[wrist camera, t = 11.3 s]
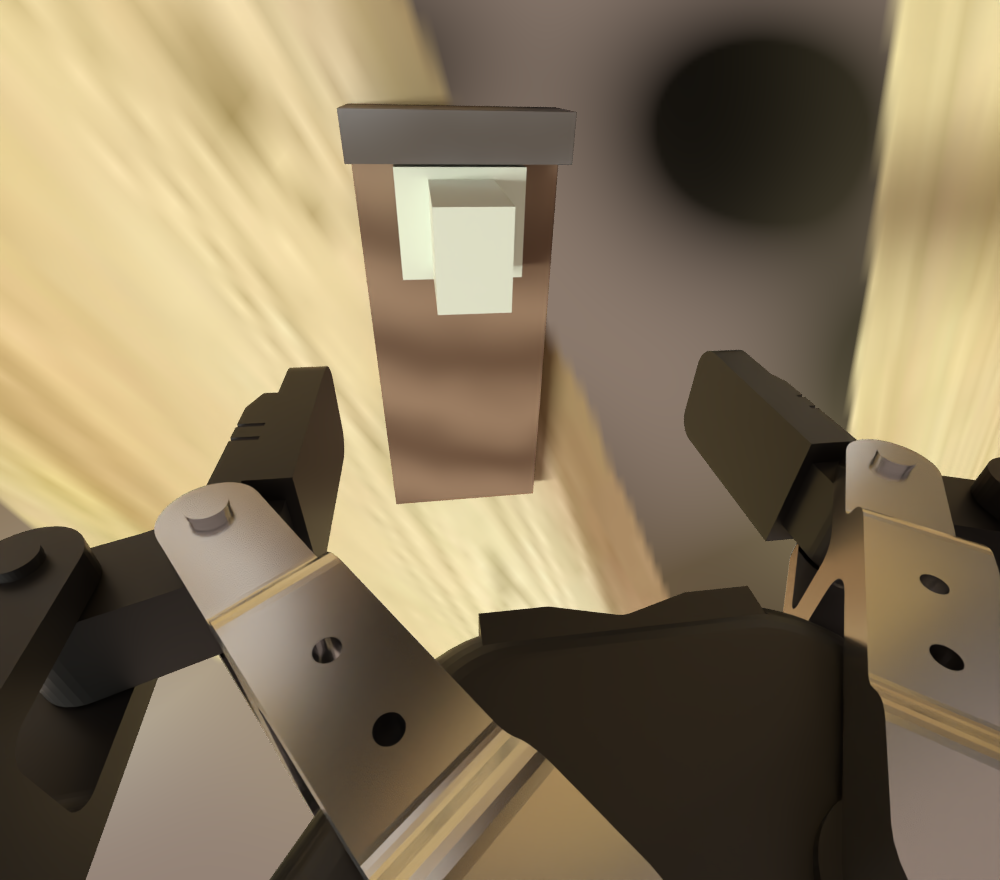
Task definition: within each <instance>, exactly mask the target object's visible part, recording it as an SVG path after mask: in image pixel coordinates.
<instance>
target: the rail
mask: <svg viewBox="0 0 1000 880" xmlns="http://www.w3.org/2000/svg"><path fill="white" fill-rule="evenodd" d="M337 113H338V120H339V127H340V134H341V141H342V149H343V156H344V163H345V164H352V171H353V179H354V186H355V194H356V201H357V209H358V216H359V224H360V232H361V239H362V247H363V254H364V262H365V269H366V277H367V285H368V292H369V300H370V307H371V315H372V322H373V330H374V338H375V345H376V353H377V360H378V368H379V375H380V383H381V391H382V398H383V406H384V413H385V421H386V428H387V436H388V444H389V451H390V459H391V466H392V474H393V481H394V489H395V497H396V504H403V503H415V502H428V501H441V500H453V499H466V498H479V497H491V496H504V495H516V494H529V493H533V485H534V472H535V459H536V446H537V433H538V420H539V407H540V394H541V381H542V368H543V354H544V341H545V328H546V315H547V301H548V289H549V275H550V263H551V250H552V237H553V224H554V211H555V198H556V185H557V172H558V165H572V159H573V147H574V137H575V126H576V115H577V112H574V111H569V110H565V109H560V108H556V107H552V108H551V107H499V106H496V107H495V106H493V107H492V106H443V105H387V104H345V105H343V106H341V107H338V108H337ZM393 164H500V165H524V166H526V167H527V172H526V194H525V216H524V238H523V261H522V277H513V289H512V313H485V314H455V315H438V312H437V303H436V294H435V284H434V279H424V280H403V274H402V263H401V251H400V240H399V229H398V218H397V207H396V196H395V185H394V174H393Z"/></svg>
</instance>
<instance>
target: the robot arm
mask: <svg viewBox="0 0 1000 880" xmlns="http://www.w3.org/2000/svg"><path fill="white" fill-rule="evenodd" d="M237 425H238V427H236V428H235V430H234V432H233V434H232V436H231V441H229V442H228V444H227V446H226V448H225V450H224V452H223V454H222V456H221V458H220V460H219V462H218V464H217V466H216V468H215V470H214V472H213V474H212V476H211V477H210V479H209V481H208V483H207V485H206V486H203V487H200V488H197V489H195V490H192V491H190V492H188V493H186V494H184V495H182V496H181V497H179V498H177V499H176V500H174V501H173V502H172V503H170V504H169V505H168V506H167V507H166V508H165V509H164V510H163V511H162V513H161V514H160V515H159V517H158V519H157V521H156V523H155V527H154V530H151V531H148V532H145V533H142V534H139V535H135V536H132V537H128V538H125V539H121V540H117V541H114V542H110V543H107V544H103V545H100V546H96V547H93V548H90V547H89V545H88V544H87V542H86V541H85V539H84V538H83V536H82V535H81V534H80V533H79V532H78V531H76V530H74V529H72V528H67V527H58V526H54V527H43V528H37V529H33V530H29V531H25V532H22V533H19V534H16V535H13V536H11V537H8V538H6V539H3V540H1V541H0V880H86V877H87V874H88V872H89V869H90V866H91V863H92V860H93V858H94V855H95V852H96V849H97V846H98V843H99V841H100V838H101V835H102V833H103V830H104V827H105V824H106V821H107V818H108V816H109V813H110V810H111V807H112V804H113V802H114V799H115V796H116V793H117V791H118V788H119V785H120V782H121V779H122V777H123V774H124V771H125V768H126V766H127V763H128V760H129V757H130V754H131V751H132V749H133V746H134V743H135V740H136V737H137V735H138V732H139V729H140V726H141V723H142V721H143V717H144V715H145V712H146V710H147V707H148V704H149V701H150V698H151V696H152V693H153V690H154V687H155V684H156V681H157V679H158V678H159V677H161V676H164V675H166V674H169V673H172V672H174V671H177V670H180V669H182V668H185V667H187V666H190V665H193V664H195V663H198V662H200V661H203V660H206V659H208V658H211V657H214V656H216V655H219V657H220V658H221V660H222V662H223V663H224V665H225V667H226V668H227V670H228V672H229V673H230V675H231V677H232V678H233V680H234V682H235V683H236V685H237V687H238V689H239V690H240V692H241V694H242V695H243V697H244V699H245V700H246V702H247V704H248V706H249V707H250V709H251V710H252V712H253V714H254V716H255V717H256V719H257V721H258V722H259V724H260V726H261V727H262V729H263V731H264V733H265V734H266V736H267V737H268V739H269V741H270V743H271V745H272V746H273V748H274V750H275V752H276V753H277V755H278V757H279V759H280V761H281V762H282V764H283V766H284V768H285V770H286V771H287V773H288V775H289V777H290V778H291V780H292V782H293V784H294V785H295V787H296V788H297V790H298V792H299V794H300V795H301V797H302V799H303V801H304V802H305V804H306V806H307V807H308V809H309V811H310V812H311V814H312V816H313V817H314V818H313V819H312V821H311V822H310V823H309V825H308V826H307V828H306V829H305V830H304V832H303V833H302V835H301V836H300V838H299V839H298V841H297V842H296V843H295V845H294V846H293V848H292V849H291V850H290V852H289V853H288V855H287V856H286V857H285V859H284V860H283V862H282V863H281V864H280V866H279V867H278V869H277V870H276V872H275V873H274V874H273V876H272V877H271V879H270V880H1000V457H999V458H995V459H992V460H991V461H990V462H989V463H988V464H987V466H986V467H985V468H984V470H983V471H982V472H981V474H980V475H979V476H978V478H977V479H976V480H970V479H962V478H955V477H948V476H941V473H940V471H939V470H938V469H937V467H936V466H935V465H934V464H933V463H931V462H930V461H929V460H928V459H926V458H925V457H923V456H922V455H920V454H918V453H916V452H914V451H912V450H910V449H908V448H905V447H903V446H900V445H897V444H894V443H890V442H886V441H881V440H873V439H862V440H856V439H855V438H854V437H853V436H851V435H850V434H849V433H848V432H847V431H845V430H844V429H843V428H842V427H841V426H839V425H838V424H837V423H836V422H834V421H833V420H832V419H831V418H830V417H828V416H827V415H826V414H825V413H824V412H822V411H821V410H820V409H819V408H815V405H814V404H813V403H812V402H810V401H809V400H808V399H807V398H806V397H802V394H800V392H798V391H797V390H796V389H795V388H794V387H792V386H791V385H790V384H789V383H787V382H786V381H784V380H782V379H780V378H778V377H776V376H774V375H772V374H770V373H769V372H768V371H767V370H766V369H765V368H763V367H762V366H761V365H760V364H759V363H757V362H756V361H755V360H754V359H753V358H751V357H750V356H749V355H748V354H747V353H746V352H744V351H742V350H725V351H707V352H705V353H704V354H703V355H702V356H701V358H700V360H699V363H698V366H697V370H696V374H695V377H694V381H693V384H692V388H691V391H690V395H689V399H688V402H687V406H686V409H685V414H684V426H685V431H686V434H687V436H688V438H689V440H690V441H691V442H692V443H693V445H694V446H695V448H696V449H697V450H698V452H699V453H700V454H701V456H702V457H703V458H704V460H705V461H706V462H707V464H708V465H709V466H710V468H711V469H712V470H713V472H714V473H715V474H716V476H717V477H718V478H719V480H720V481H721V482H722V484H723V485H724V486H725V488H726V489H727V490H728V492H729V493H730V494H731V496H732V497H733V498H734V499H735V501H736V502H737V503H738V505H739V506H740V508H741V509H742V510H743V512H744V513H745V514H746V516H747V517H748V518H749V520H750V521H751V522H752V524H753V525H754V526H755V528H756V529H757V530H758V531H759V533H760V534H761V535H762V537H763V538H764V539H765V541H773V540H784V539H794V540H795V541H796V542H797V543H796V546H795V547H794V549H793V551H792V553H791V556H790V562H789V570H788V577H787V585H786V593H785V601H784V609H783V612H780V611H775V610H771V609H766V608H762V607H761V606H760V604H759V603H758V602H757V600H756V598H755V597H754V595H753V593H752V592H751V590H750V589H749V587H748V586H743V587H733V588H723V589H714V590H704V591H694V592H685V593H682V594H680V595H677V596H674V597H672V598H669V599H666V600H664V601H661V602H659V603H656V604H653V605H651V606H648V607H646V608H643V609H640V610H638V611H635V612H632V613H630V614H626V615H614V614H606V613H597V612H589V611H581V610H572V609H564V608H556V607H539V608H530V609H520V610H510V611H501V612H491V613H481V614H479V636H478V637H475V638H473V639H470V640H468V641H465V642H463V643H462V644H460V645H458V646H456V647H454V648H452V649H450V650H448V651H447V652H445V653H444V654H442V655H441V656H439V657H438V658H436V659H434V658H433V657H432V656H431V655H430V654H429V652H428V651H427V650H426V649H425V648H424V647H423V646H422V645H421V644H420V643H419V642H418V641H417V640H416V639H415V638H414V637H413V636H412V635H411V634H410V632H409V631H408V630H407V629H406V628H405V627H404V626H403V625H402V624H401V623H400V622H399V621H398V620H397V619H396V618H395V617H394V616H393V615H392V613H391V612H390V611H389V610H388V609H387V608H386V607H385V606H384V605H383V604H382V603H381V602H380V601H379V600H378V599H377V598H376V597H375V596H374V595H373V593H372V592H371V591H370V590H369V589H368V588H367V587H366V586H365V585H364V584H363V583H362V582H361V581H360V580H359V579H358V578H357V577H356V576H355V575H354V573H353V572H352V571H351V570H350V569H349V568H348V567H347V566H346V565H345V564H344V563H343V562H342V561H341V560H340V559H339V558H338V557H337V556H336V555H334V554H333V553H331V552H327V547H328V541H329V536H330V530H331V525H332V520H333V514H334V509H335V503H336V498H337V492H338V487H339V481H340V476H341V470H342V465H343V459H344V438H343V430H342V425H341V420H340V414H339V409H338V404H337V399H336V394H335V388H334V383H333V378H332V374H331V371H330V369H329V367H328V366H324V367H300V368H289V369H288V371H287V373H286V376H285V378H284V380H283V383H282V385H281V387H280V390H279V392H278V393H264V394H262V395H261V396H260V397H259V398H257V399H256V400H255V401H254V402H252V403H251V404H250V405H249V406H247V407H246V408H245V410H244V412H243V414H242V416H241V418H240V420H239V422H238V424H237Z"/></svg>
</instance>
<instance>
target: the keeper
mask: <svg viewBox="0 0 1000 880" xmlns="http://www.w3.org/2000/svg"><path fill="white" fill-rule="evenodd" d="M526 172H527V167H526V166H524V165H500V164H393V174H394V185H395V196H396V207H397V218H398V229H399V240H400V251H401V263H402V274H403V280H424V279H434V284H435V294H436V303H437V312H438V315H455V314H485V313H512V289H513V277H522V261H523V238H524V216H525V194H526Z"/></svg>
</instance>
